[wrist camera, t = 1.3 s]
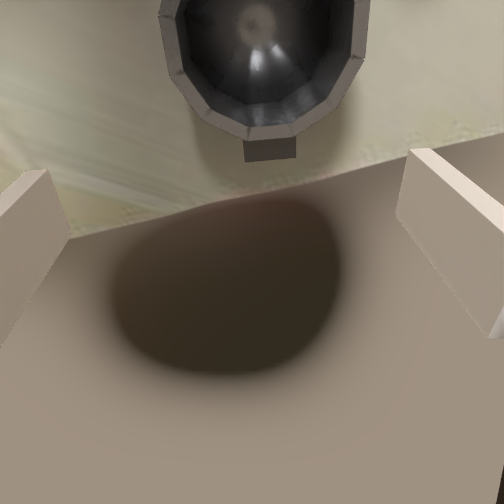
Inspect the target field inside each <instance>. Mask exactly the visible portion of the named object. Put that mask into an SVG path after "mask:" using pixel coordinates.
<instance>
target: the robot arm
mask: <svg viewBox="0 0 504 504" xmlns="http://www.w3.org/2000/svg"><path fill="white" fill-rule="evenodd" d="M395 215H396V217H397V218H398V220H399V221H400V222H401V224H402V225H403V226H404V227H405V229H406V230H407V232H408V233H409V234H410V236H411V237H412V238H413V240H414V241H415V242H416V244H417V245H418V246H419V248H420V249H421V250H422V252H423V253H424V255H425V256H426V257H427V259H428V260H429V261H430V263H431V264H432V265H433V266H434V268H435V269H436V271H437V272H438V273H439V275H440V276H441V278H442V279H443V280H444V281H445V283H446V284H447V286H448V287H449V288H450V290H451V291H452V292H453V294H454V295H455V296H456V298H457V299H458V300H459V302H460V303H461V304H462V306H463V307H464V309H465V310H466V311H467V312H468V314H469V315H470V317H471V318H472V319H473V321H474V322H475V323H476V325H477V326H478V327H479V329H480V330H481V331H482V333H483V334H484V335H485V337H486V338H487V339H497V338H504V206H502V205H501V204H500V203H499V202H497V201H496V200H495V199H493V198H492V197H491V196H489V195H488V194H487V193H486V192H485V191H483V190H482V189H481V188H479V187H478V186H477V185H475V184H474V183H473V182H472V181H471V180H469V179H468V178H467V177H466V176H464V175H463V174H462V173H461V172H459V171H458V170H457V169H455V168H454V167H453V166H452V165H450V164H449V163H447V161H445V160H444V159H443V158H441V157H440V156H439V155H438V154H436V153H435V152H434V151H433V150H431V149H430V148H423V149H409V152H408V156H407V161H406V166H405V171H404V175H403V180H402V184H401V189H400V194H399V198H398V203H397V208H396V212H395ZM71 235H72V232H71V230H70V227H69V224H68V222H67V219H66V216H65V214H64V211H63V208H62V206H61V203H60V200H59V198H58V195H57V192H56V190H55V187H54V184H53V182H52V179H51V176H50V174H49V171H48V169H43V170H26V171H25V172H24V173H23V174H22V175H21V176H19V177H18V178H17V179H16V180H15V181H14V182H13V183H12V184H11V185H10V186H8V187H7V188H6V189H5V190H4V191H3V192H2V193H1V194H0V347H1V346H2V344H3V342H4V341H5V339H6V338H7V336H8V335H9V333H10V331H11V330H12V328H13V327H14V325H15V323H16V322H17V320H18V319H19V317H20V316H21V314H22V312H23V311H24V309H25V308H26V306H27V305H28V303H29V301H30V300H31V298H32V297H33V295H34V293H35V292H36V290H37V289H38V287H39V286H40V284H41V282H42V281H43V279H44V278H45V276H46V274H47V273H48V271H49V270H50V268H51V267H52V265H53V263H54V262H55V260H56V259H57V257H58V255H59V254H60V252H61V251H62V249H63V248H64V246H65V244H66V243H67V241H68V240H69V238H70V237H71ZM496 504H504V467H503V472H502V477H501V482H500V487H499V492H498V497H497V502H496Z"/></svg>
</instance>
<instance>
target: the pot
mask: <svg viewBox="0 0 504 504" xmlns="http://www.w3.org/2000/svg"><path fill="white" fill-rule="evenodd" d="M186 9H187V11H186ZM369 10H370V0H162V3H161V6H160V10H159V13H158V14H160V15H159V16H158V17H159V23H160V28H161V34H162V39H163V44H164V50H165V55H166V60H167V66H168V71H169V76H171V77H170V78H171V79H172V81H173V82H174V83H175V85H176V86H177V87H178V89H179V90H180V91H181V93H182V94H183V95H184V97H185V98H186V99H187V101H188V102H189V103H190V105H191V106H192V107H193V109H194V110H195V111H196V113H197V114H198V115H199V117H200V118H201V119H202V120H203V119H204V120H203V121H204V122H206V123H208V124H211V125H213V126H215V127H217V128H219V129H221V130H224V131H226V132H228V133H230V134H232V135H235V136H237V137H239V138H241V139H243V145H244V156H245V162H253V161H264V160H275V159H287V158H296V135H298V134H299V133H301V132H302V131H304V130H305V129H307V128H308V127H310V126H311V125H313V124H314V123H316V122H317V121H319V120H320V119H322V118H323V117H325V116H326V115H328V114H329V113H331V112H332V111H334V110H335V108H334V107H336V108H337V106H338V105H339V103H340V101H341V99H342V98H343V96H344V94H345V93H346V91H347V89H348V87H349V86H350V84H351V82H352V81H353V79H354V77H355V75H356V74H357V72H358V70H359V69H360V67H361V65H362V63H363V62H364V60H363V58H365V53H366V42H367V31H368V21H369Z"/></svg>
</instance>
